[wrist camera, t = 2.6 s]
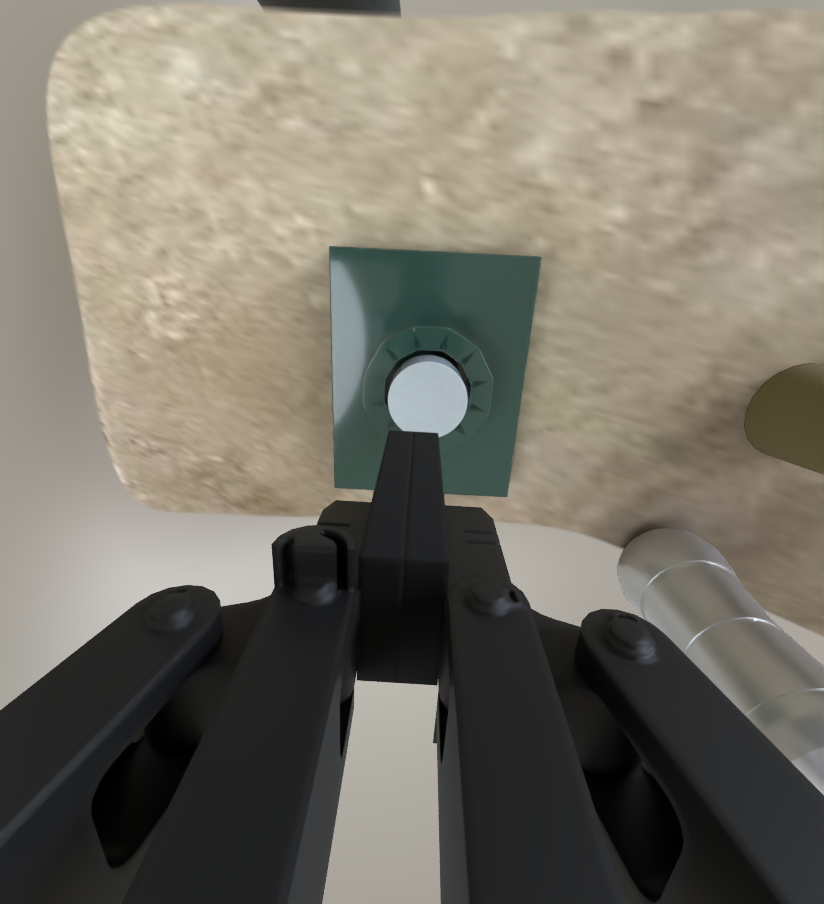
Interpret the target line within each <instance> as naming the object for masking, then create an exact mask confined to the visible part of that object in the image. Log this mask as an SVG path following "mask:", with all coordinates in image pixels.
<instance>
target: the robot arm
mask: <svg viewBox="0 0 824 904" xmlns="http://www.w3.org/2000/svg"><path fill="white" fill-rule="evenodd" d="M499 543H500V542H499V538H498V535H497V532H496V528H495V524H494V521H493V519H492V518H491V517H490V516H489V515H488V514H487V513H486V512H485V511H484V510H483V509H482V508H478V507H462V506H445V503H444V492H443V481H442V470H441V458H440V447H439V436H438V433H430V432H414V431H397V430H389V431H388V436H387V440H386V444H385V448H384V452H383V456H382V461H381V465H380V469H379V473H378V477H377V481H376V486H375V490H374V494H373V498H372V502H355V501H339V500H336V501H334V502H333V503H332V504H330V505H329V506H328V507H326V508H325V509H324V510H323V511H322V513H321V516H320V518H319V520H318V523H317V525H313V526H304V527H300V528H296V529H292V530H290V531H288V532H286V533H284V534H282V535H280V536H279V537H278V538H277V539H276V540H275V541H274V542H273V543H272V556H273V568H274V569H273V570H274V584H275V588H274V590H273V592H272V594H271V595H270V596H268V597H265V598H263V599H260V600H255V601H252V602H248V603H240V604H234V605H228V606H223V607H221V606H220V600H219V598H218V597H217V596H216V594H215V592H214V591H212V590H209V589H207V588H205V587H203V586H192V585H185V586H179V587H172V588H167V589H165V590H162V591H159V592H156V593H154V594H151V595H150V596H148V597H146V598H145V599H143V600H141V601H140V602H138V603H136V604H135V605H134V606H133V607H131V608H130V609H129V610H128V611H126V612H125V613H124V614H122V615H121V616H120V617H119V618H117V619H116V620H115V621H113V622H112V623H111V624H110V625H108V626H107V627H106V628H105V629H103V630H102V631H101V632H100V633H98V634H97V635H96V636H94V637H93V638H92V639H91V640H89V641H88V642H87V643H86V644H84V645H83V646H82V647H80V648H79V649H78V650H77V651H75V652H74V653H73V654H71V655H70V656H69V657H68V658H66V659H65V660H64V661H63V662H61V663H60V664H59V665H58V666H56V667H55V668H54V669H53V670H51V671H50V672H49V673H47V674H46V675H45V676H44V677H42V678H41V679H40V680H39V681H37V682H36V683H35V684H33V685H32V686H31V687H30V688H28V689H27V690H26V691H25V692H23V693H22V694H21V695H19V696H18V697H17V698H16V699H14V700H13V701H12V702H11V703H9V704H8V705H7V706H5V707H4V708H3V709H2V710H0V904H322V900H323V894H324V888H325V882H326V876H327V869H328V863H329V857H330V851H331V845H332V838H333V832H334V826H335V820H336V814H337V808H338V802H339V795H340V790H341V783H342V777H343V771H344V765H345V758H346V753H347V746H348V740H349V734H350V728H351V722H352V716H353V709H354V683H355V678H356V672H357V680H362V681H377V682H393V683H409V684H425V685H437V682H438V684H439V693H438V702H437V712H436V721H435V730H434V740H433V743H437V760H438V802H439V844H440V882H441V883H440V886H441V904H824V795H823V794H822V793H821V792H820V791H819V790H818V789H817V788H816V787H815V786H814V785H813V784H812V783H811V782H810V781H809V780H808V779H807V778H806V777H805V776H804V775H803V774H802V773H801V772H800V771H799V770H798V769H797V768H796V767H795V766H794V765H793V763H792V762H791V761H790V760H789V759H788V758H787V757H786V756H785V755H784V754H783V753H782V752H781V751H780V750H779V749H778V748H777V747H776V746H775V745H774V744H773V743H772V742H771V741H770V740H769V739H768V738H767V737H766V736H765V735H764V734H763V733H762V732H761V731H760V730H759V729H758V728H757V727H756V726H755V725H754V724H753V723H752V722H751V721H750V720H749V719H748V718H747V717H746V716H745V715H744V714H743V713H742V712H741V711H740V710H739V709H738V708H737V707H736V706H735V705H734V703H733V702H732V701H731V700H730V699H729V698H728V697H727V696H726V695H725V694H724V693H723V692H722V691H721V690H720V689H719V688H718V687H717V686H716V685H715V684H714V683H713V682H712V681H711V680H710V679H709V678H708V677H707V676H706V675H705V674H704V673H703V672H702V671H701V670H700V669H699V668H698V667H697V666H696V665H695V664H694V663H693V662H692V661H691V660H690V659H689V658H688V657H687V656H686V655H685V654H684V653H683V652H682V651H681V650H680V649H679V648H678V647H677V646H676V645H675V643H674V642H673V641H672V640H671V639H670V638H669V637H668V636H667V635H666V634H664V633H663V632H662V631H661V630H659V629H658V628H657V627H656V626H654V625H653V624H652V623H650V622H648V621H646V620H644V619H642V618H640V617H638V616H636V615H634V614H630V613H627V612H623V611H620V610H611V609H600V610H597V611H594V612H591V613H589V614H588V615H587V616H586V617H585V618H584V619H583V620H582V624H581V627H578V626H575V625H572V624H568V623H565V622H562V621H558V620H555V619H552V618H549V617H547V616H544V615H542V614H540V613H538V612H536V611H534V610H533V609H531V607H530V604H529V602H528V600H527V598H526V597H525V595H524V593H523V592H522V591H521V590H519V589H518V588H517V587H516V586H514V585H513V584H512V583H511V580H510V577H509V573H508V570H507V567H506V563H505V560H504V556H503V552H502V549H501V546H500V544H499Z"/></svg>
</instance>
